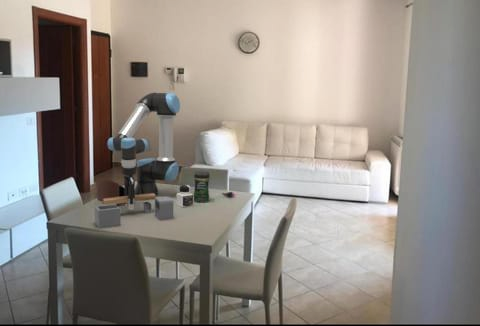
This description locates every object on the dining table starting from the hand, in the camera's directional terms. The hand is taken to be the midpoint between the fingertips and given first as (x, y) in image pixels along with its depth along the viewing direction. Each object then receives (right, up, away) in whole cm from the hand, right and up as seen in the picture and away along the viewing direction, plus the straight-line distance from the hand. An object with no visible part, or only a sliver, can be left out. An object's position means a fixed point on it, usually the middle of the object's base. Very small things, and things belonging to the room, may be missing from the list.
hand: (130, 208), depth 252 cm
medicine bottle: (+28, -1, +20) cm, 34 cm away
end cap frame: (+5, -5, -11) cm, 14 cm away
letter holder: (-15, +1, +24) cm, 28 cm away
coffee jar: (+37, +1, +30) cm, 48 cm away
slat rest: (0, -3, 0) cm, 3 cm away
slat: (0, +4, -1) cm, 4 cm away
